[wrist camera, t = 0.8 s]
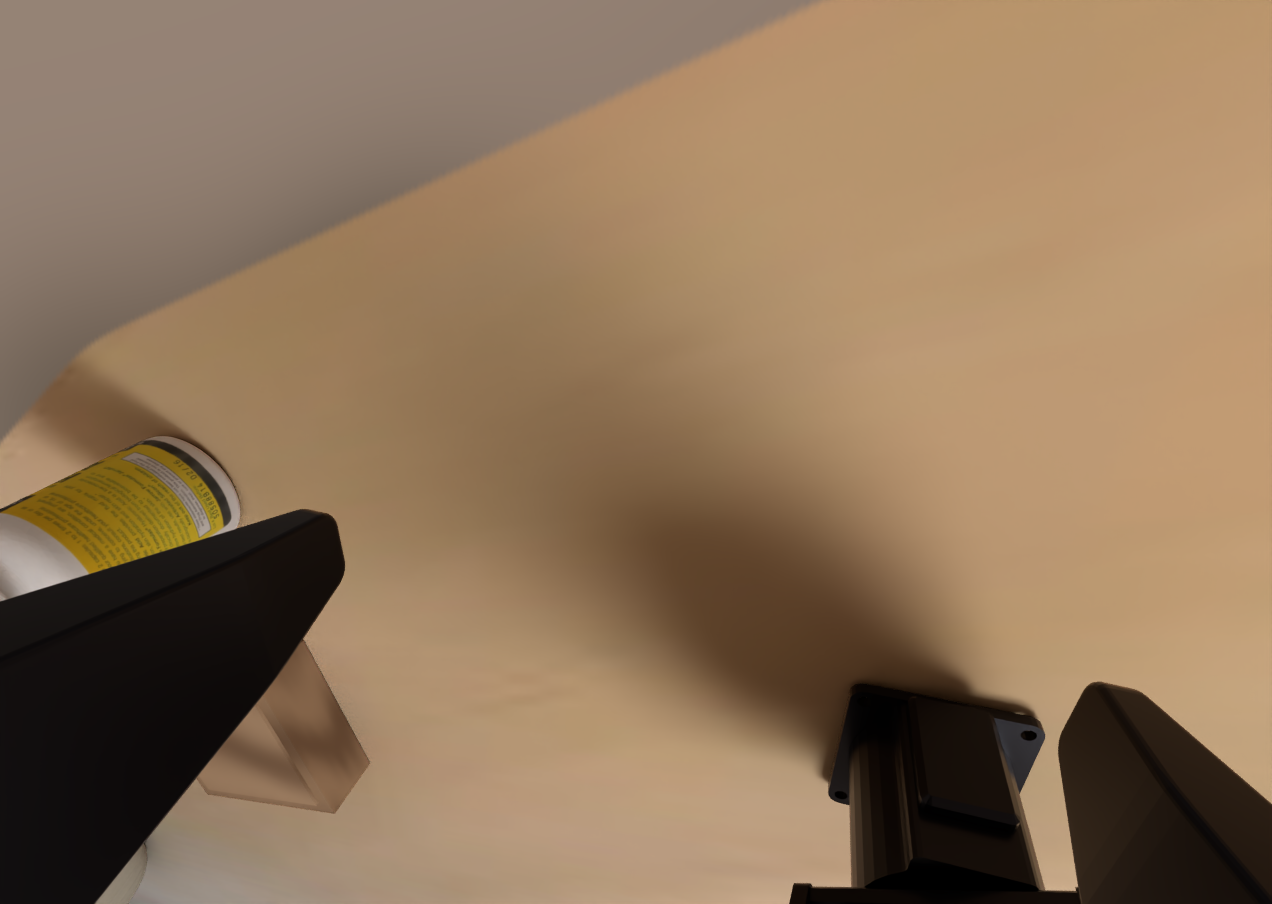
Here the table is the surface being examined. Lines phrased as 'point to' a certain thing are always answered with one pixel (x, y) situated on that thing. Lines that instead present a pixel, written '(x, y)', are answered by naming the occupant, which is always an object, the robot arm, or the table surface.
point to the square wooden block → (290, 746)
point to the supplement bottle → (114, 514)
